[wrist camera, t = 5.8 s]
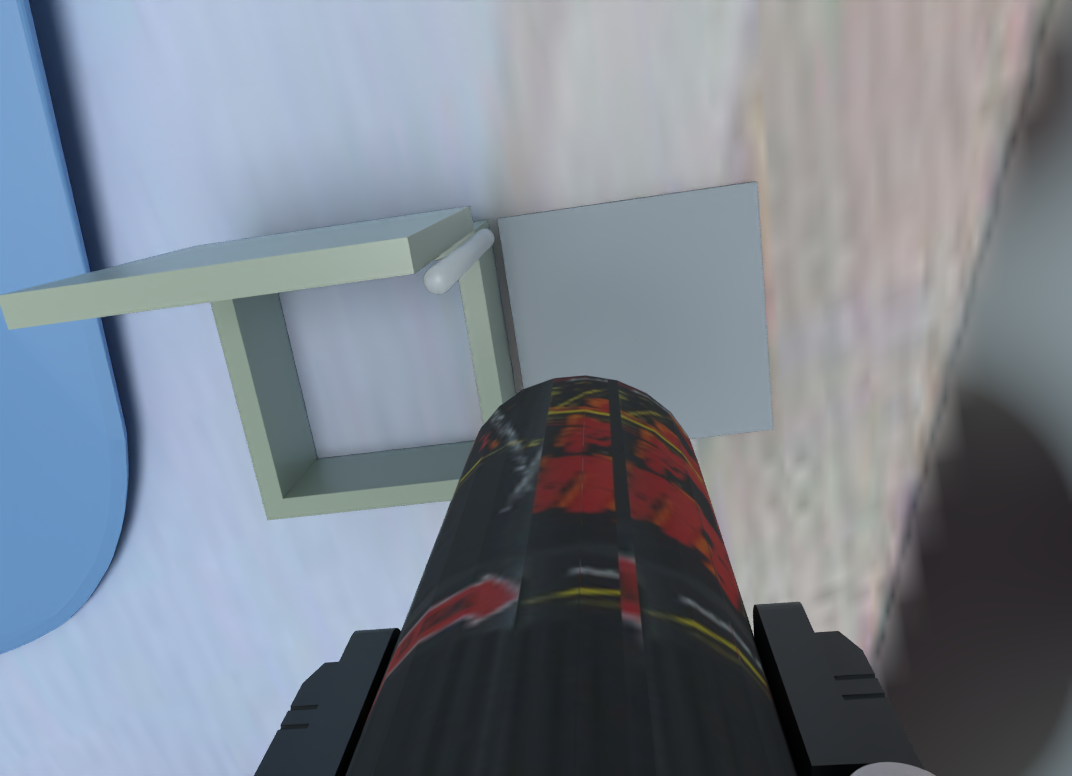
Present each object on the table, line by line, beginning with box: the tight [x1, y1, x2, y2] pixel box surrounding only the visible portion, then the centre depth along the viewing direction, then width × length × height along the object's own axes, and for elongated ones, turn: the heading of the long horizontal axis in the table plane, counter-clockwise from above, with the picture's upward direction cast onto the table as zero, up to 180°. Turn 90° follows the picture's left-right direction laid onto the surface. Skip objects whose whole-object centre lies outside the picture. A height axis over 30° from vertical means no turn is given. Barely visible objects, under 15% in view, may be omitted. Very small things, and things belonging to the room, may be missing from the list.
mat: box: [497, 182, 773, 439], centre depth 39 cm, size 12×12×1 cm
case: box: [0, 206, 516, 520], centre depth 32 cm, size 13×13×17 cm
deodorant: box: [345, 375, 798, 776], centre depth 13 cm, size 6×6×15 cm
